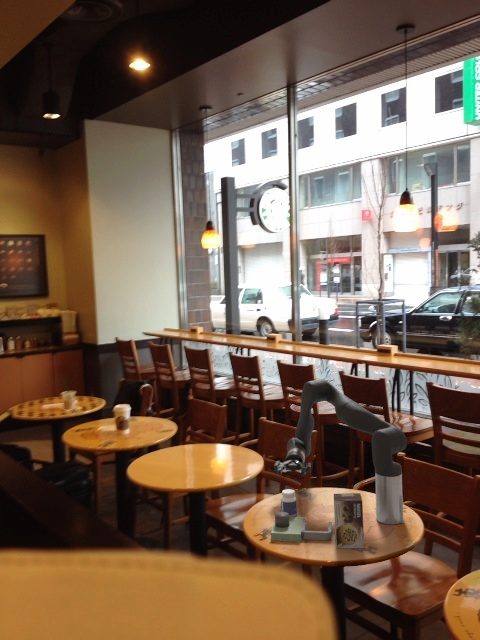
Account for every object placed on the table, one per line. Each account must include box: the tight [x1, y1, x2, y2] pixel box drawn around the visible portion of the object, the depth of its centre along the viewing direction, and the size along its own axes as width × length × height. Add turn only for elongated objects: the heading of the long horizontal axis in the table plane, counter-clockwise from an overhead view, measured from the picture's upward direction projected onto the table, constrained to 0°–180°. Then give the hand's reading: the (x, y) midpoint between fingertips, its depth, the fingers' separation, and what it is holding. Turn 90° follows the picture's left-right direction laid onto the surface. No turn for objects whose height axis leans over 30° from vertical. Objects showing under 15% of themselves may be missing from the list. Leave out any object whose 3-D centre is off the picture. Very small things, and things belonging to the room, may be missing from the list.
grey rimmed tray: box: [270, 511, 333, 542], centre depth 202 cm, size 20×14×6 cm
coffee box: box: [333, 492, 365, 549], centre depth 191 cm, size 9×6×16 cm
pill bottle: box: [280, 488, 298, 517], centre depth 214 cm, size 6×6×10 cm
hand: (290, 473), depth 225 cm, fingers open, 8 cm apart
